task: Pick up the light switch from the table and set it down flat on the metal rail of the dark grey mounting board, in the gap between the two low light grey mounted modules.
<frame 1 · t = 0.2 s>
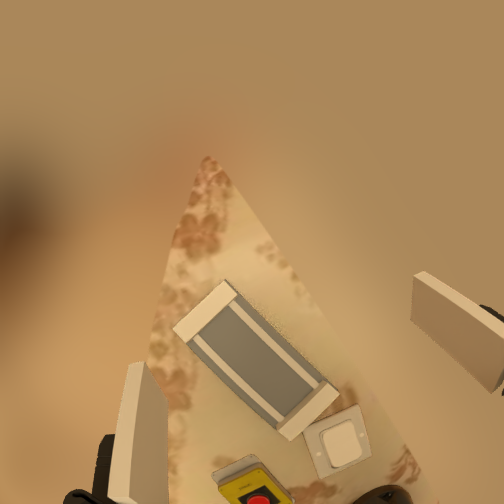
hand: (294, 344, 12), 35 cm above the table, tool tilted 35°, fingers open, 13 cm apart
emergency button: (254, 488, 39), on the table
rail board: (256, 363, 45), on the table
light switch: (337, 442, 42), on the table
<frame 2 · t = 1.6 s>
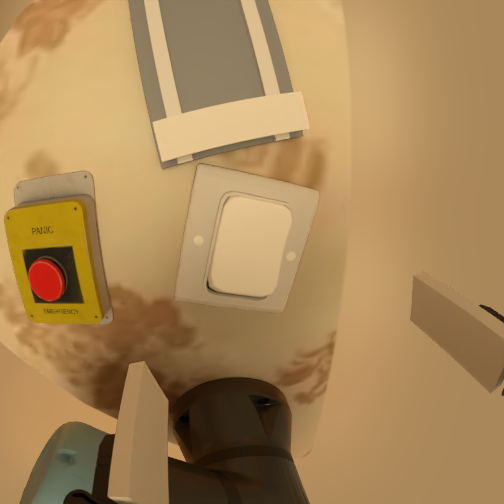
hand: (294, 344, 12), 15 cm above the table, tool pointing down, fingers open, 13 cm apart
emergency button: (62, 252, 24), on the table
rail board: (200, 13, 18), on the table
light switch: (242, 243, 27), on the table
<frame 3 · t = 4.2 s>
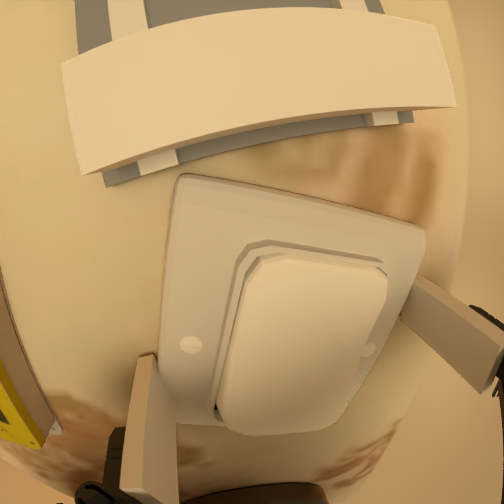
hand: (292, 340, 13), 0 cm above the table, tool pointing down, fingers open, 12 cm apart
light switch: (277, 330, 13), on the table, touching gripper
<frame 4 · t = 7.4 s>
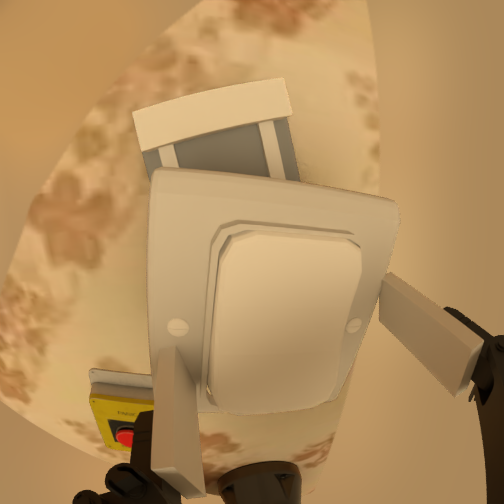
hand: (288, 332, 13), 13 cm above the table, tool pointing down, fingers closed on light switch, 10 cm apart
emergency button: (133, 409, 31), on the table
rail board: (242, 246, 26), on the table
light switch: (263, 311, 14), point 12 cm above the table, touching gripper
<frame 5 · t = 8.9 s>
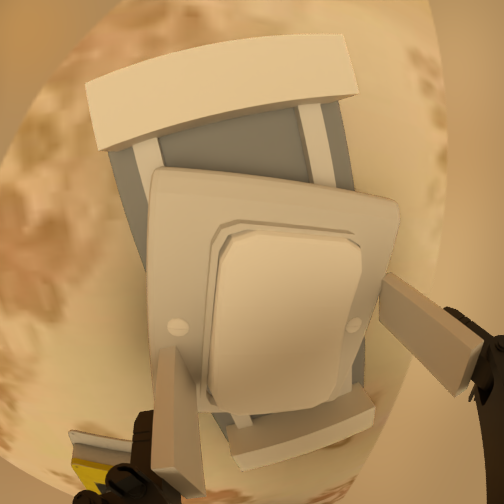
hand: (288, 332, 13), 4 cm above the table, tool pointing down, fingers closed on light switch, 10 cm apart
emergency button: (124, 468, 22), on the table
rail board: (267, 294, 17), on the table
light switch: (263, 311, 14), point 3 cm above the table, touching gripper
when the fingers open (3 cm above the table, at t = 10.3 s): light switch stays where it is, resting on rail board.
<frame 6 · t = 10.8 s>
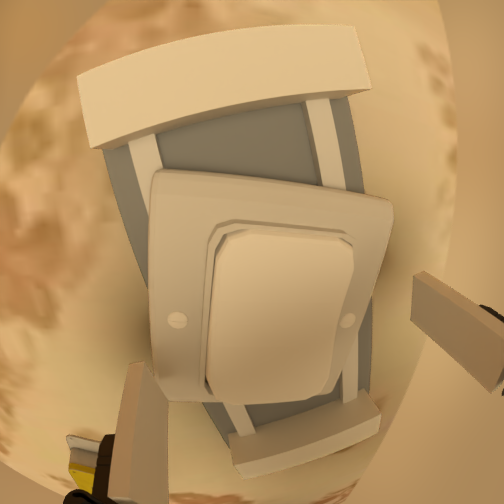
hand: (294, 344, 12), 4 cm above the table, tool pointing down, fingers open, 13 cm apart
emergency button: (121, 472, 21), on the table
rail board: (271, 300, 16), on the table
light switch: (260, 306, 15), point 1 cm above the table, touching rail board
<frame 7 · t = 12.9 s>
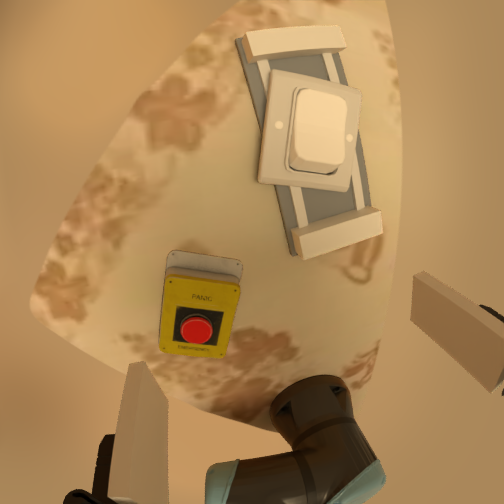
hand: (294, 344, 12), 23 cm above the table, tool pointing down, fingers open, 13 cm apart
emergency button: (197, 305, 37), on the table
rail board: (312, 136, 32), on the table
light switch: (309, 132, 30), point 1 cm above the table, touching rail board
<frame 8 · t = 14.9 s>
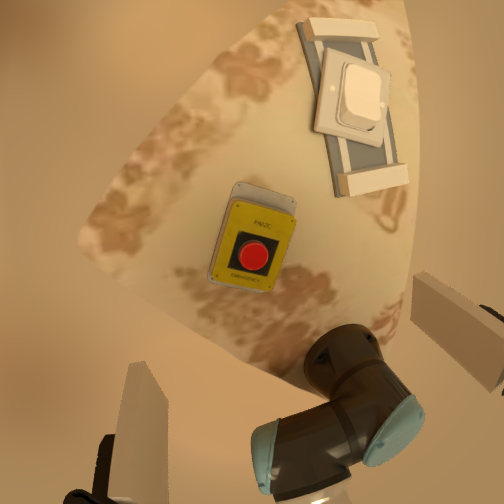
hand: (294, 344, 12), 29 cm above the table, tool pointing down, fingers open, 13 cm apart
emergency button: (250, 239, 41), on the table
rail board: (353, 103, 37), on the table
light switch: (352, 98, 35), point 1 cm above the table, touching rail board
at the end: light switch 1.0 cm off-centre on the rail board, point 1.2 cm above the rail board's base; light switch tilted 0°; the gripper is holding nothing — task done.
